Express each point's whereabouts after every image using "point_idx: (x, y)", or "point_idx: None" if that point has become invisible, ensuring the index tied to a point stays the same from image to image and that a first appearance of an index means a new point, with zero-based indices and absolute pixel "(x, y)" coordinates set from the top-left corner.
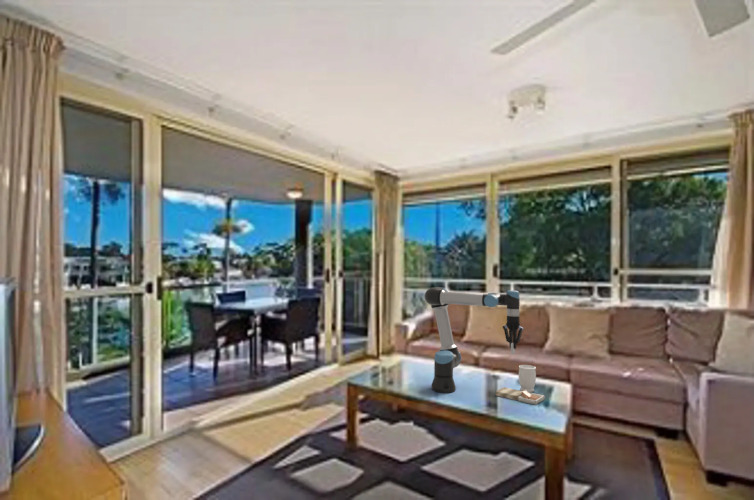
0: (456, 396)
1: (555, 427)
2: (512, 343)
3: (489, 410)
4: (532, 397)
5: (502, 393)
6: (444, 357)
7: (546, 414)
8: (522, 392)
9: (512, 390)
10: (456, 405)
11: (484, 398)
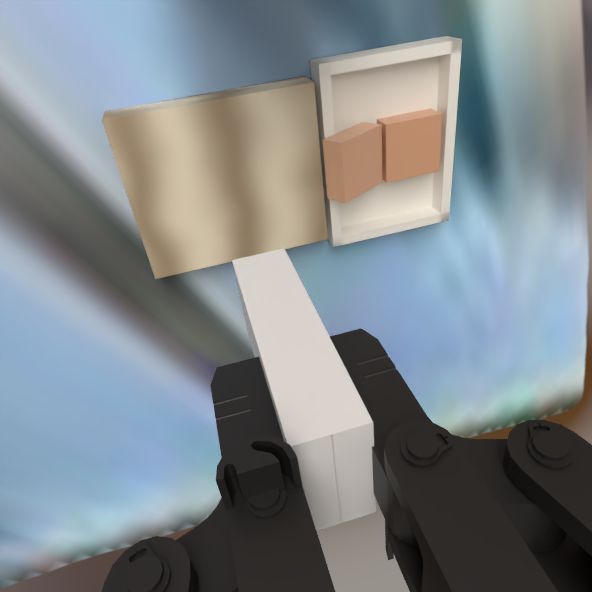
0: (37, 458)
1: (568, 374)
2: (347, 509)
3: None
4: (409, 177)
5: (211, 263)
6: None
7: (517, 291)
8: (345, 201)
9: (218, 148)
10: (165, 515)
11: (160, 360)
